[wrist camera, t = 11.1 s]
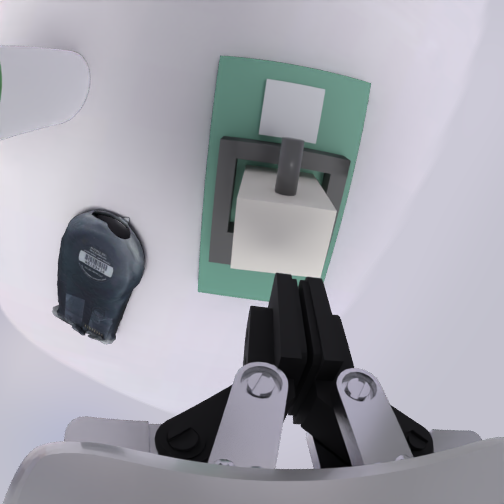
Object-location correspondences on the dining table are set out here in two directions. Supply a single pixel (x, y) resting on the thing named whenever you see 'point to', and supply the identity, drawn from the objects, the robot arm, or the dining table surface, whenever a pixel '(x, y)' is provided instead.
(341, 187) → the circuit board
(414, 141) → the dining table surface
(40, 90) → the cylindrical container
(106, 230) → the electronic device
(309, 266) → the keyed plug
